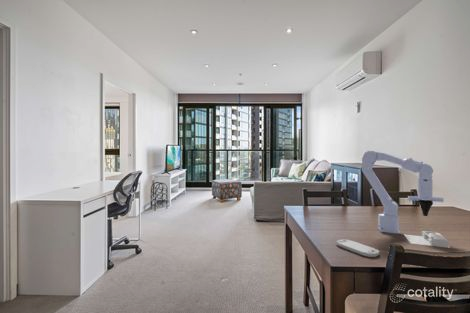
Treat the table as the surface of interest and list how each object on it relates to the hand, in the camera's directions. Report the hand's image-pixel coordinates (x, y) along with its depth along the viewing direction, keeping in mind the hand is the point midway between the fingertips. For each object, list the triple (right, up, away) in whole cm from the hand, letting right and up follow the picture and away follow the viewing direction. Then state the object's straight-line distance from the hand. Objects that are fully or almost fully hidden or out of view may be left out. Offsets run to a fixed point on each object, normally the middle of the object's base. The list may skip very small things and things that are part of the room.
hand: (425, 215), depth 135 cm
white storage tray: (-5, -11, -7) cm, 14 cm away
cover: (-2, -8, -10) cm, 13 cm away
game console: (-42, -11, -19) cm, 47 cm away
